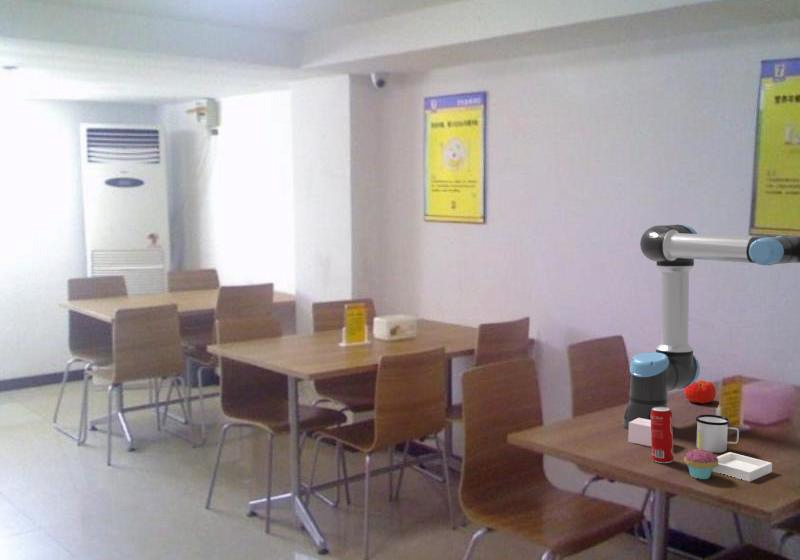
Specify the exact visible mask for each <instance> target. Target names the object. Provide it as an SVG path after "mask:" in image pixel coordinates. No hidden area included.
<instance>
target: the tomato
mask: <svg viewBox="0 0 800 560" xmlns="http://www.w3.org/2000/svg"><path fill="white" fill-rule="evenodd" d="M715 387H716V386H715V385H714V384H713V383H712V382H711V381H706V380H698V381H695V382H694V383H693V384H692V385H690V386H687V387H685V388H683V392H684V396H685V398H686V399H687V400H689V401H690V402H691V403H693V404H697V403H699V404H702V405H704V404H707V403H710V402H713V400H715V397H716V393H717V392H716V391H717V390H716V388H715Z"/></svg>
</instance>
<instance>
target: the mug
mask: <svg viewBox="0 0 800 560" xmlns="http://www.w3.org/2000/svg"><path fill="white" fill-rule="evenodd" d="M695 421H696V422H697V423H696V424H697V425H696V426H697V427H696V446H695V447H696V449H698V433H699V432H700V433H701V450H706V451H710V452H712V453H713V454H718V453H725V452H726V451H727V449H728V445H736V444H737V445H738V443H739V436H740V430H739V428H737V427H731V426H729V424H731V420H730V418H728V417H725V416H721V415H718V414H717V415H715V414H698V415H696V416H695ZM728 430H736V441H728V434H729V433H728Z"/></svg>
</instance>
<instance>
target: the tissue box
mask: <svg viewBox="0 0 800 560" xmlns="http://www.w3.org/2000/svg"><path fill="white" fill-rule="evenodd" d="M627 431H628V436H627V442H628V443H633V444H638V445H641V446H647V447H650V448H652V444H651V420H648V419H643V418H637V419H635V420H633V421H631V422H629V429H628V430H627Z"/></svg>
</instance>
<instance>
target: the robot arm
mask: <svg viewBox="0 0 800 560" xmlns="http://www.w3.org/2000/svg"><path fill="white" fill-rule="evenodd" d="M639 241H640V242H639V244H640V245H639V246H640V251H641V252H642V254H643V256H645V257H646V258H647V259H648V260H650V261H653V262H656V267H657V269H659V270H660V273H661V274H660V276H661V277H660V282H661V283H660V287H661V289H660V343H659V344H658V345H657V346H656V347H655V352H651V351H650V352H641V353H638V354H635V355H633V356H632V358H631V359H630V367H629V396H628V397H629V401H628V404H627V407H626V410H625V412H624V415H623V417H622V418H623V419H622V426H623V427H624V428H625V429H627V430H629V422H631V421H633V420H635V419H637V418H643V419H648V420H651V415H650V413H651V410H652V408H653V407H668V394H669V393H668V392H671V391H674V390H676V391H677V390H682V389H683V390H684V388H685V387H687V386H690V385H692V384H693V383H694V382H697V379H698V378H699V375H700V372H701V370H700V369H701V368H700V362H699V360H698V359H697V357H696V356H695V355H694V349H693V347H692V346H691V345H689V309H690V308H689V304H690V303H689V299H690V298H689V297H690V295H689V294H690V291H689V290H690V289H689V288H690V287H689V286H690V284H689V283H690V279H689V278H690V274H689V273H690V271H691V270H692V269H693V268H694V267H695V260H706V261H718V262H731V263H746V264H747V263H748V264H757V265H760V266H772V265H779V264H780V265H781V264H791V263H793V264H794V263H797V264H800V236H795V235H777V236H775V237H774V236H773V237H770V236H769V237H767V236H766V237H765V236H747V235H746V236H744V235H741V236H740V235H727V234H726V235H724V234H723V235H721V234H704V233H703V234H702V233H701V234H700V233H698V232H697V231H696V230H695V229H694V228H693V227H691V226H688V225H685V224H678V223H677V224H668V225H667V224H666V225H663V224H662V225H659V224H658V225H654V226H651V227H649V228H648V229H646V230H645V231H644V233H643V234H642V235H641V237H640V240H639ZM668 408H669V407H668Z"/></svg>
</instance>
